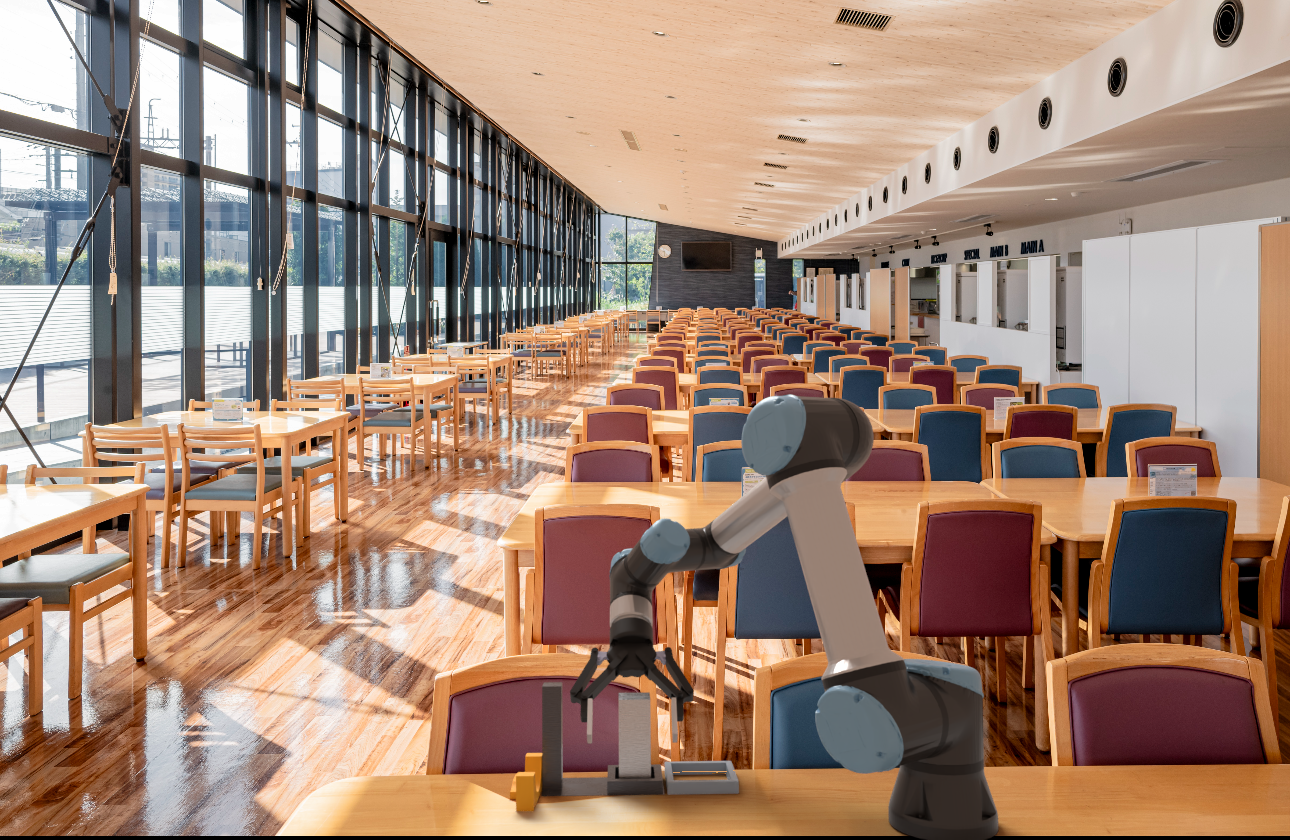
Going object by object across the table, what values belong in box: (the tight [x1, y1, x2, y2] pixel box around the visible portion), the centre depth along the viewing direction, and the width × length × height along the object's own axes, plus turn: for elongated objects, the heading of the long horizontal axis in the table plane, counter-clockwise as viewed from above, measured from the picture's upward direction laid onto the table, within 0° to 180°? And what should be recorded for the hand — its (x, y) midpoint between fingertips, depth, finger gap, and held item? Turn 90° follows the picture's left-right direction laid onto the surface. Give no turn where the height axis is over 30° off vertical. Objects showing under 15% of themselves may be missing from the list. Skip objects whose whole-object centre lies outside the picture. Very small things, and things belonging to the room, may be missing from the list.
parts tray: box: [664, 760, 740, 796], centre depth 161 cm, size 11×11×3 cm
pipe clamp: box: [509, 752, 542, 812], centre depth 155 cm, size 12×4×6 cm, turn 179°
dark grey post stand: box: [540, 681, 665, 797], centre depth 160 cm, size 19×9×17 cm, turn 91°
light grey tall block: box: [618, 691, 652, 779], centre depth 161 cm, size 5×5×14 cm
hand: (632, 738), depth 160 cm, fingers open, 13 cm apart
